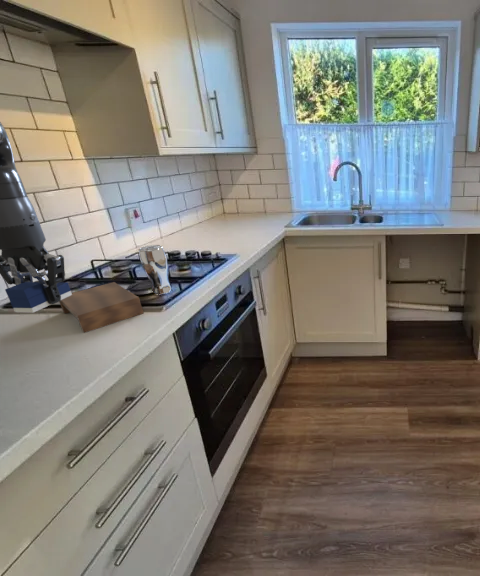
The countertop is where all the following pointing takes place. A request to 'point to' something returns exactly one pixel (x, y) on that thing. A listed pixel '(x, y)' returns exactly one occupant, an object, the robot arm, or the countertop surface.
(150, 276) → the beer glass
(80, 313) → the wooden display riser
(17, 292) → the blue stepped sponge
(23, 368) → the countertop surface
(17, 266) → the robot arm
